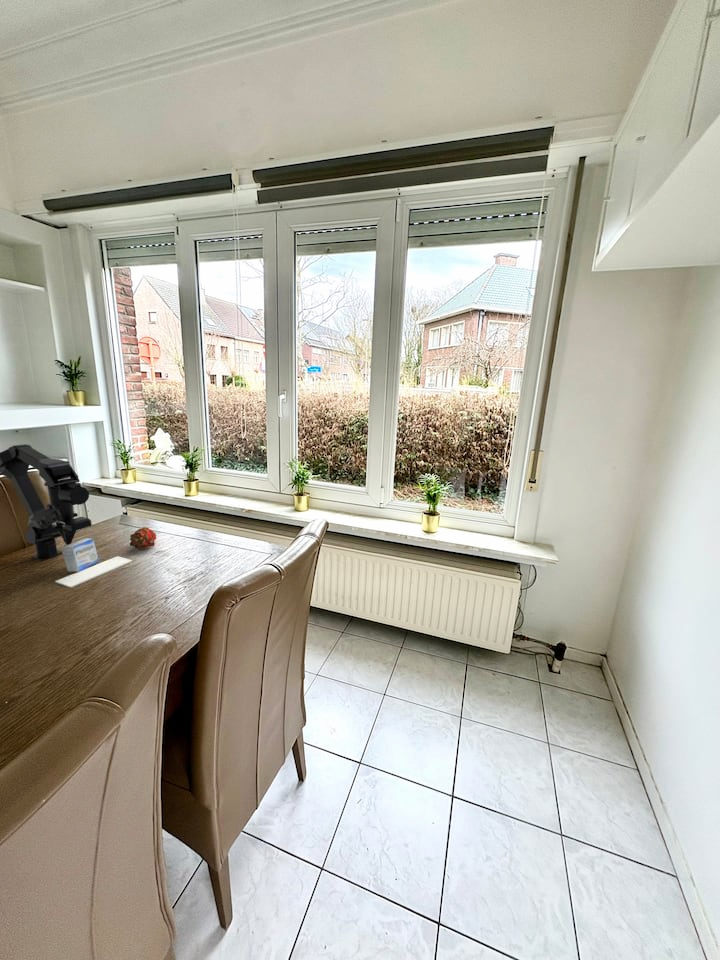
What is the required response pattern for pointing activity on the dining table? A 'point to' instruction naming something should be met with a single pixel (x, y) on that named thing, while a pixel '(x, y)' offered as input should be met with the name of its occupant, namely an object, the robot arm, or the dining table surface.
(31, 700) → the dining table surface
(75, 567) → the medicine box
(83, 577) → the mat
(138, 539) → the dragon fruit
